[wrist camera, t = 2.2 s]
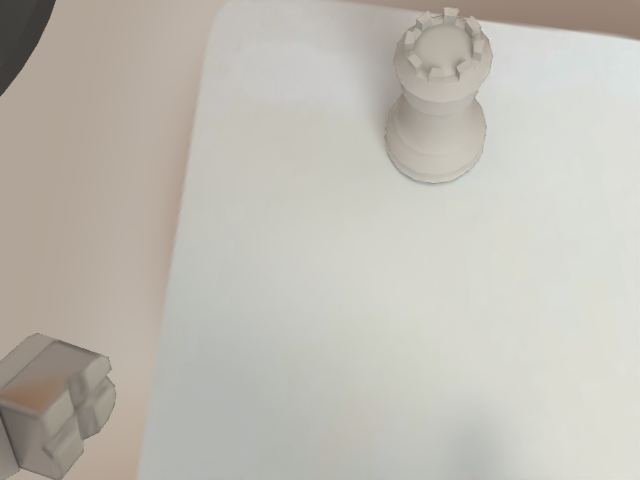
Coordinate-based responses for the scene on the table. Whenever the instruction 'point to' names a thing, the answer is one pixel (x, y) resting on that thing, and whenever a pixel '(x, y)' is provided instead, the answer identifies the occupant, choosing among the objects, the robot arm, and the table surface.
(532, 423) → the table surface
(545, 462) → the table surface
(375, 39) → the table surface
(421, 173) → the rook chess piece
